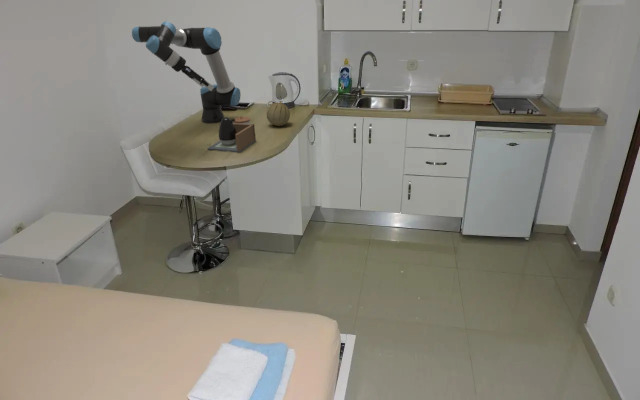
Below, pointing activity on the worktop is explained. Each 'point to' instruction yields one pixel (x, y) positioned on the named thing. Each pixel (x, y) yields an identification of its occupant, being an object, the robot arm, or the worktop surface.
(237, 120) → the lidded jar
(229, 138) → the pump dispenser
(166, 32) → the robot arm
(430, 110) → the worktop surface
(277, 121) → the cantaloupe
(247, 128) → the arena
